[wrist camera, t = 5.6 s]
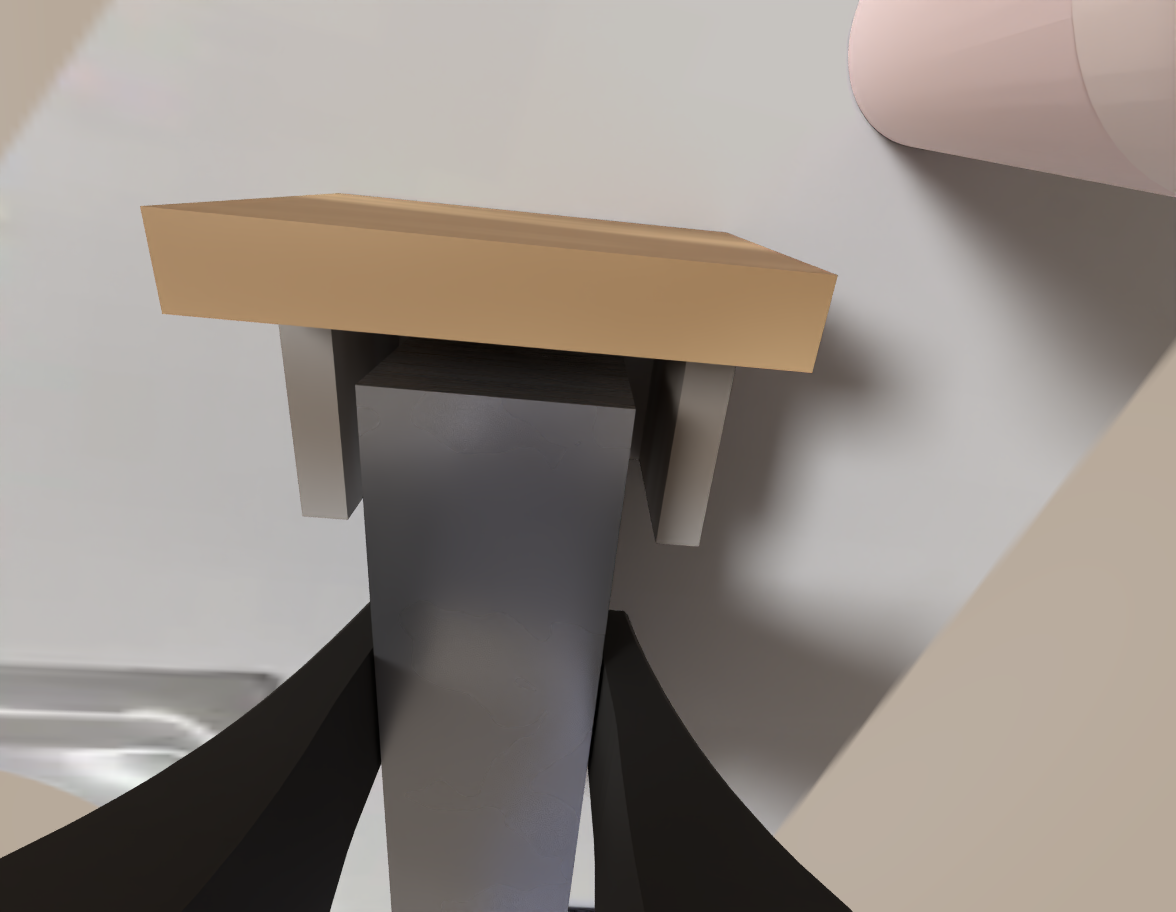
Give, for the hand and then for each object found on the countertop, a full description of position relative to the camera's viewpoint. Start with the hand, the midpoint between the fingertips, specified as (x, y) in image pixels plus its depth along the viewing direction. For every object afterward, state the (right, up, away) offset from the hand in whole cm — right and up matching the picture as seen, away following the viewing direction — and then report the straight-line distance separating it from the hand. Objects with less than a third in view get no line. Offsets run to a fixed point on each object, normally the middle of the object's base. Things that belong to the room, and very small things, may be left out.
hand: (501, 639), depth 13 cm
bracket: (0, +6, +1) cm, 6 cm away
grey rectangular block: (0, +1, +3) cm, 3 cm away
